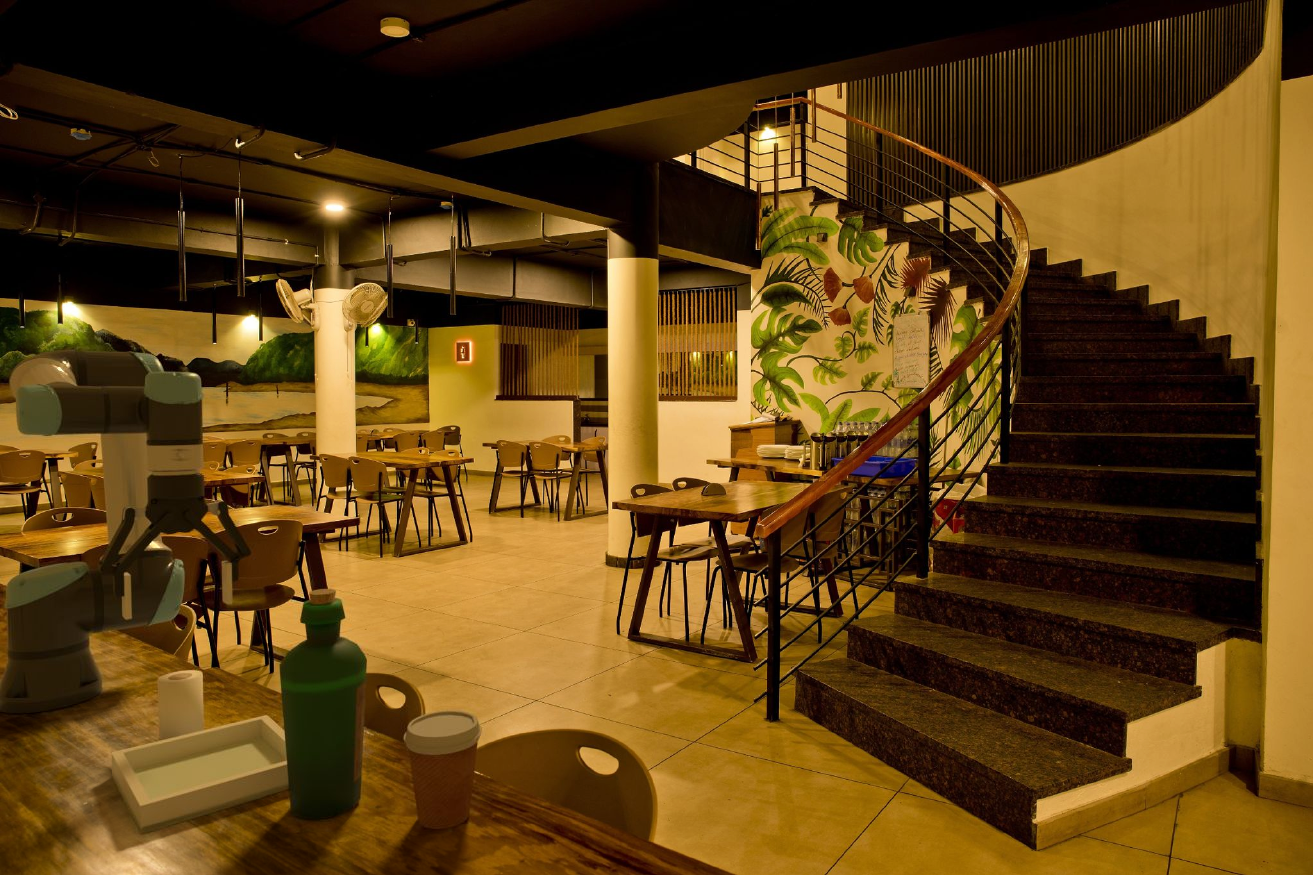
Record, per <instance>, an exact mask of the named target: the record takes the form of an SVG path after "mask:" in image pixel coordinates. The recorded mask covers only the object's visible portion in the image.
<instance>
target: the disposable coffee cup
mask: <svg viewBox="0 0 1313 875" xmlns="http://www.w3.org/2000/svg"><path fill="white" fill-rule="evenodd" d="M482 731H483V729H482V726H481V725H480V724H479V719H478V718H477V716H476V715H475V714H473V713H471V712H469V711H463V710H440V711H439V710H438V711H433V712H429V713H425V714H422V715H420V716H418V717H417V716H416V718H415V717H414V719H412V720H411V721H409V723H408V725H407V729H406V731H405V733H404V735H403V742H404V743H405V746H406V748H407V752H408V758H409V765H410V766H409V767H410V772H411V780H412V785H413V793H414V799H415V808H416V814H417V822H418V824H419V825H420V826H422V827H423V828H425V829H431V830H443V829H450V828H454V827H457V826H458V825H461V824H463V823H464V822H465V821H466V820H467V819H468V818H469V817H470V814H471V813H470V812H471V811H470V810H471V803H472V794H473V786H474V777H475V770H476V768H475V767H476V758H477V753H478V752H477V750H478V744H479V743H478V742H479V741H480V737H481V734H482Z"/></svg>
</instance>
